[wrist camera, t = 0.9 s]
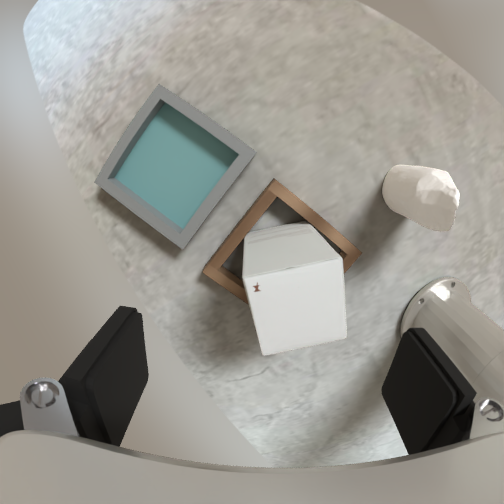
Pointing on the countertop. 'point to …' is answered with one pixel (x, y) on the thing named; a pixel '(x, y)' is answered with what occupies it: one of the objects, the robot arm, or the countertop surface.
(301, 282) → the supplement box
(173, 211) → the dock
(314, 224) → the wooden picture frame
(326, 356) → the countertop surface
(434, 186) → the white rounded piece
